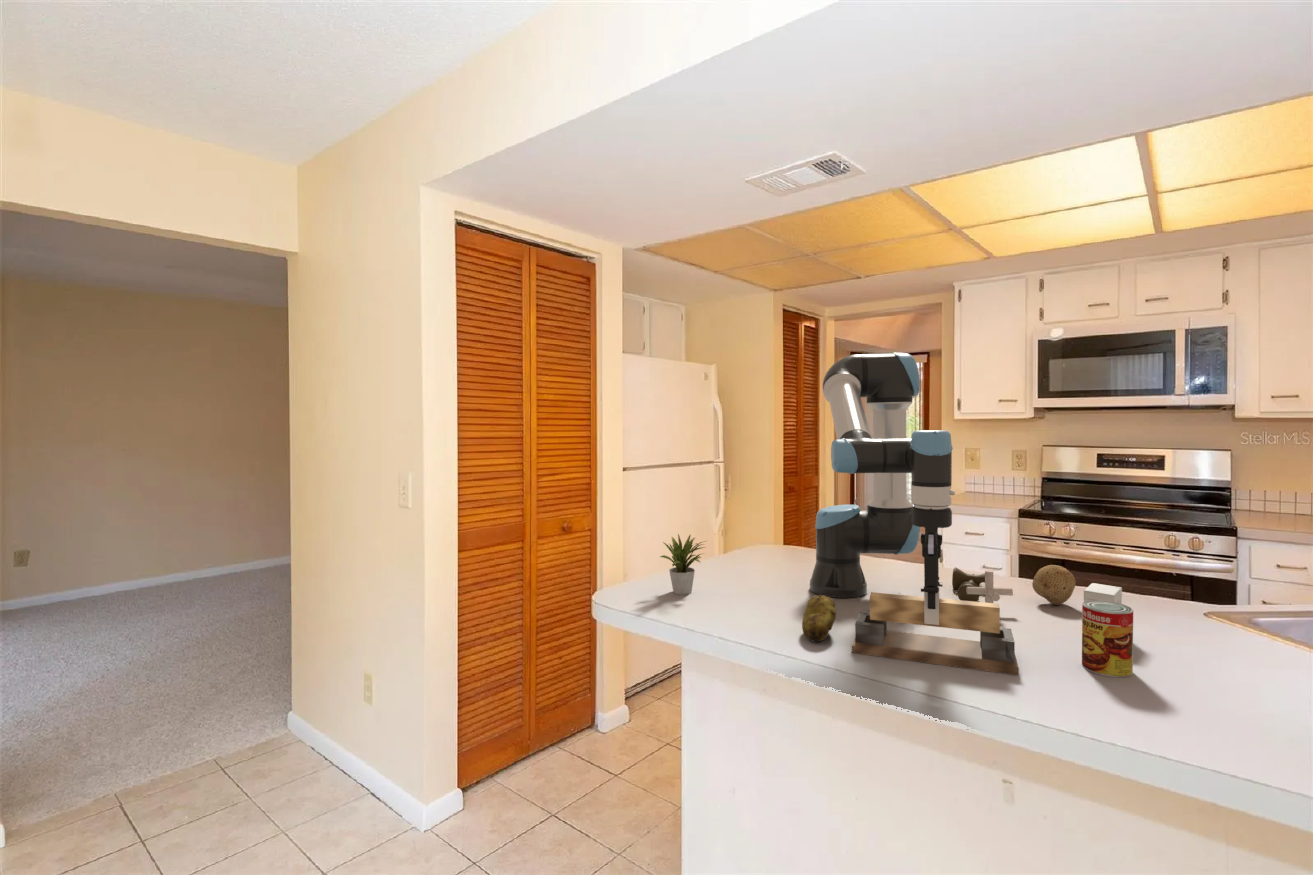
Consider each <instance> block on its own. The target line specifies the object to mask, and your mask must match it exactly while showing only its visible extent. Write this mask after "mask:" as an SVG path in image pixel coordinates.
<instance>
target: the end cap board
mask: <svg viewBox="0 0 1313 875" xmlns="http://www.w3.org/2000/svg"><path fill="white" fill-rule="evenodd" d="M857 616H858V617H857V619H856V621H855V625H854V629H855V632H854V633H855V635H854V638H853V641H852V643H851V653H852V654H859V655H866V656H867V655H868V656H874V657H881V658H889V659H895V660H896V659H897V660H902V661H909V662H911V661H912V662H918V663H926V664H933V665H941V666H946V667H947V666H949V667H955V668H963V669H970V670H976V671H984V672H993V673H1000V674H1004V675H1005V674H1006V675H1013V676H1019V672H1020V670H1019V664H1018V660H1017V657H1016V653H1015V648H1016V646H1015V644H1016V643H1015V640H1014V635H1013V632H1012V628H1007V627H1000V634H999V633H990V632H981V631H979V640H980V641H979V640H972V639H963V638H962V639H961V638H954V637H946V636H945V637H944V636H937V635H929V634H920V633H919V634H918V633H911V632H906V631H905V632H904V631H896V630H889V629H888V623H887V622H888V621H879V620H870V612H859V614H858V615H857Z"/></svg>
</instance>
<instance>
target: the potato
mask: <svg viewBox="0 0 1313 875" xmlns="http://www.w3.org/2000/svg"><path fill="white" fill-rule="evenodd" d="M836 607H837V605H836V601H835V600H834V599H833V598H832V597H828V596H825V595H819V594H816V595H814V596H812V597H811V598H810V599H809V600H808V602H807V603H806V606H805V609H804V612H803V617H802V621H801V622H802V623H801V624H802V626H801V630H802V632H803V634H804V636H805V637H806V638H807V639H809V640H810V641H813V642H815V643H817V642H822V641H824V640H825V639H827V636H829V632H830V631H831V630H832V628H833V626H834V622H835V620H836V616H837V609H836Z"/></svg>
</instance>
